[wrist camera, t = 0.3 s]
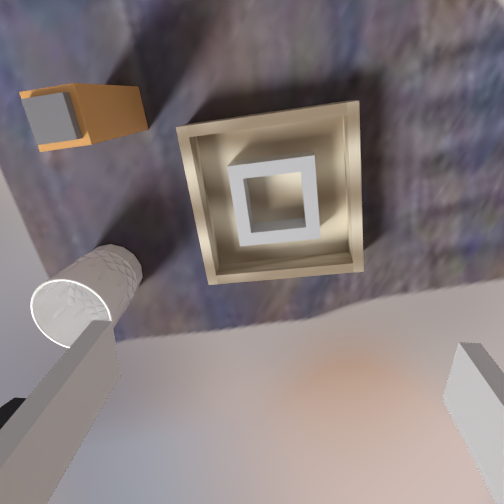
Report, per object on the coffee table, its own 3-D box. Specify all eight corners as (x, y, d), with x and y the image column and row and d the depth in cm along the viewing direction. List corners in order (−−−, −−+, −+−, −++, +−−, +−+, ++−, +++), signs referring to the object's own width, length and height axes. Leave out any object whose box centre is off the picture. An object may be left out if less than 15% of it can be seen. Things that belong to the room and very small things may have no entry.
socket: (231, 161, 37) (226, 166, 34) (312, 150, 36) (314, 155, 33) (243, 235, 40) (240, 246, 37) (318, 228, 39) (320, 238, 36)
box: (186, 123, 37) (175, 127, 33) (351, 99, 35) (359, 100, 31) (215, 268, 43) (208, 284, 39) (356, 255, 41) (363, 271, 37)
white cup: (70, 254, 44) (13, 297, 34) (124, 228, 42) (79, 266, 33) (107, 307, 46) (63, 360, 37) (160, 284, 44) (127, 334, 35)
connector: (99, 92, 36) (11, 92, 24) (138, 86, 36) (67, 82, 24) (111, 134, 38) (33, 153, 26) (148, 129, 37) (85, 145, 25)
